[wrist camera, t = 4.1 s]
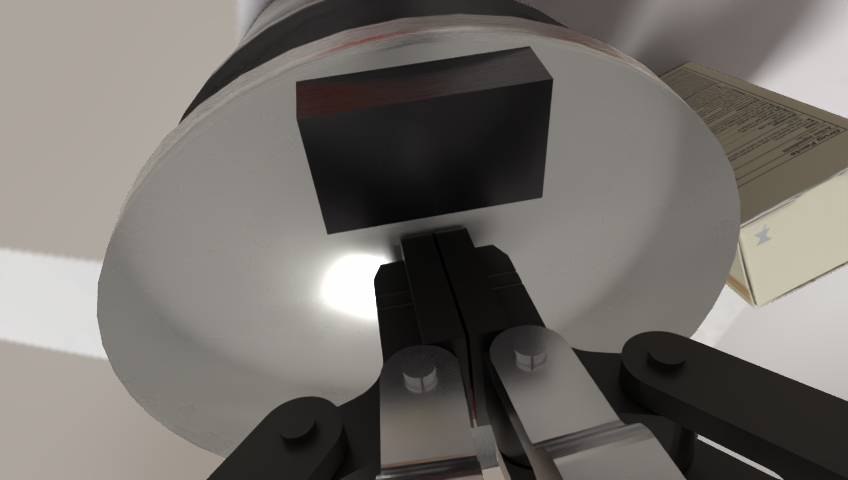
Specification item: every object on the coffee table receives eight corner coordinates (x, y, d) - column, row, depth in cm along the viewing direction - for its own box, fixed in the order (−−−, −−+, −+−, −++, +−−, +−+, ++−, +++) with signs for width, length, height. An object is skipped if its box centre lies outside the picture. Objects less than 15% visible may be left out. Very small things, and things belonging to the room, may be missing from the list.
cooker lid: (-57, 79, 10) (-176, 204, 7) (809, -46, 11) (962, 24, 8) (239, 484, 21) (232, 584, 19) (640, 403, 22) (683, 487, 20)
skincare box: (606, 182, 31) (746, 318, 21) (581, 117, 29) (725, 233, 19) (714, 125, 30) (916, 238, 20) (697, 54, 28) (915, 138, 18)
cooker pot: (173, -21, 23) (52, 34, 13) (533, -70, 24) (686, -56, 14) (268, 281, 31) (240, 462, 21) (535, 233, 32) (634, 383, 22)
